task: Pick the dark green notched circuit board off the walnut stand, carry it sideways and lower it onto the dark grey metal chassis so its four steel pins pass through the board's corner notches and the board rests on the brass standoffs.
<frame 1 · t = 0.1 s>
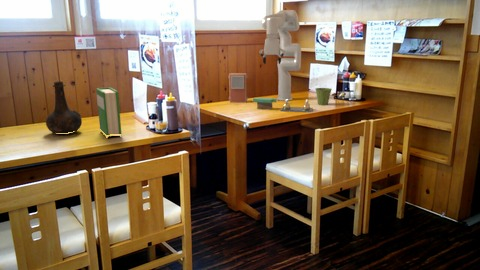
hand: (272, 63, 277), 31 cm above the table, tool pointing down, fingers open, 9 cm apart
chassis: (296, 110, 284), on the table
plant pot: (323, 104, 304), on the table
circuit board: (264, 101, 289), point 5 cm above the table, touching walnut stand
hardback book: (110, 135, 224), on the table
walnut stand: (264, 108, 290), on the table
control panel: (238, 102, 318), on the table
glass bottle: (65, 133, 228), on the table
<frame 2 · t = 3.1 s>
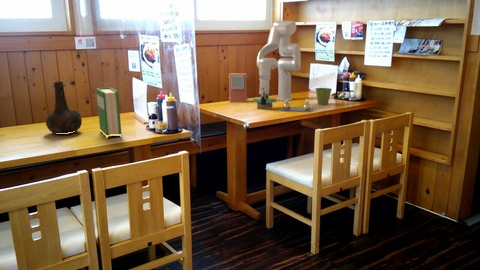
hand: (264, 103, 289), 4 cm above the table, tool pointing down, fingers closed on circuit board, 7 cm apart
circuit board: (264, 101, 289), point 5 cm above the table, touching gripper, walnut stand
everything else where it was.
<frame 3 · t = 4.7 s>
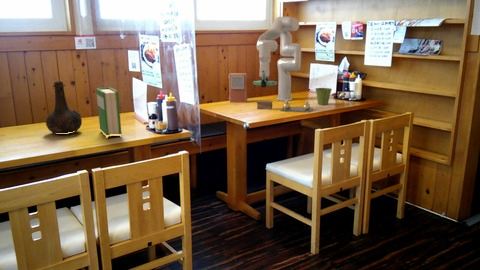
hand: (265, 86, 286), 16 cm above the table, tool pointing down, fingers closed on circuit board, 7 cm apart
circuit board: (265, 84, 286), point 17 cm above the table, touching gripper
everything else where it was.
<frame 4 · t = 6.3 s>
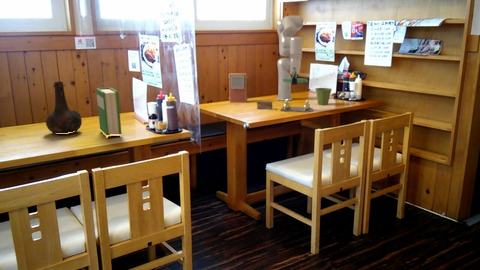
hand: (295, 83, 280), 18 cm above the table, tool pointing down, fingers closed on circuit board, 7 cm apart
circuit board: (295, 81, 279), point 19 cm above the table, touching gripper
everything else where it was.
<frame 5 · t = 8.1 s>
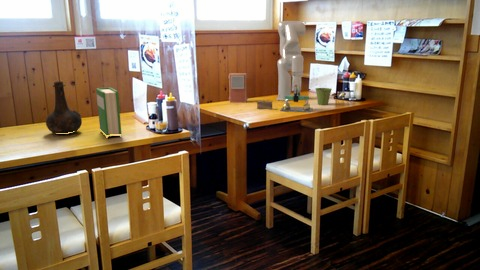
hand: (296, 100, 282), 6 cm above the table, tool pointing down, fingers closed on circuit board, 7 cm apart
circuit board: (296, 99, 282), point 8 cm above the table, touching gripper
everything else where it was.
when the fingers open (4 cm above the table, at t = 9.5 s): circuit board drops 1 cm, resting on chassis.
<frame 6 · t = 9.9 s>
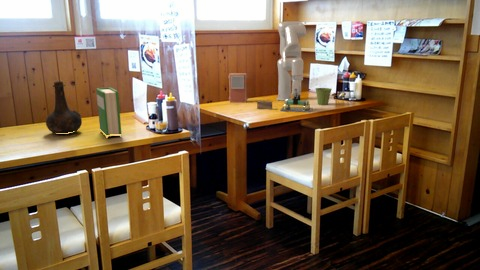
hand: (296, 103, 282), 5 cm above the table, tool pointing down, fingers open, 9 cm apart
circuit board: (296, 104, 283), point 4 cm above the table, touching chassis
everything else where it was.
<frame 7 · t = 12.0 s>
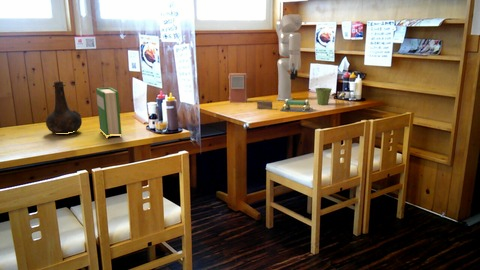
hand: (293, 78, 283), 21 cm above the table, tool pointing down, fingers open, 9 cm apart
nothing on the table moved.
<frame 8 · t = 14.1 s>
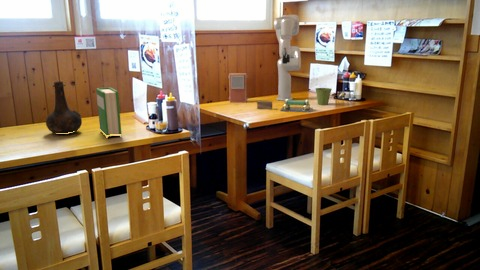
hand: (286, 62, 291), 30 cm above the table, tool pointing down, fingers open, 9 cm apart
nothing on the table moved.
at the end: circuit board 0.1 cm off-centre on the chassis, point 4.0 cm above the chassis's base; circuit board tilted 0°; the gripper is holding nothing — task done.
